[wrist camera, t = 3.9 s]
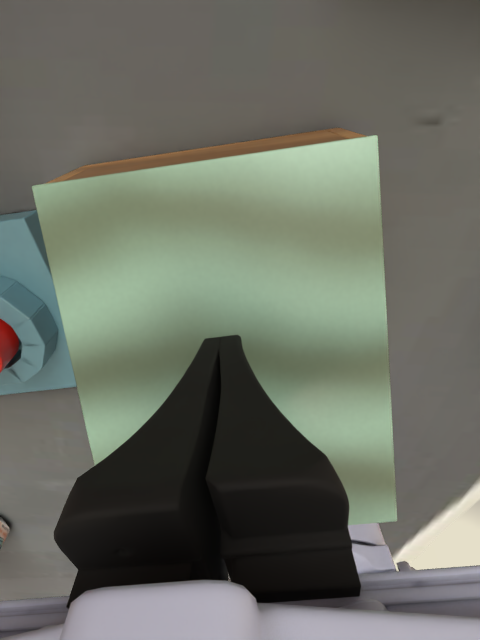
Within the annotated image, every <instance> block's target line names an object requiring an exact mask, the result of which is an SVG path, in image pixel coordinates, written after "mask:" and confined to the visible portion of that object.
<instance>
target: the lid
mask: <svg viewBox="0 0 480 640" xmlns="http://www.w3.org/2000/svg"><path fill="white" fill-rule="evenodd" d="M32 191H33V195H34V200H35V204H36V209H37V213H38V218H39V222H40V226H41V231H42V235H43V240H44V244H45V248H46V253H47V257H48V262H49V266H50V271H51V275H52V279H53V284H54V288H55V293H56V297H57V302H58V306H59V310H60V315H61V319H62V324H63V328H64V332H65V337H66V341H67V346H68V350H69V355H70V359H71V363H72V368H73V372H74V377H75V381H76V386H77V390H78V394H79V399H80V403H81V408H82V412H83V417H84V421H85V425H86V430H87V434H88V439H89V443H90V447H91V452H92V456H93V461H94V465H97V464H98V463H99V462H101V461H102V460H103V459H105V458H106V457H107V456H109V455H110V454H111V453H112V452H114V451H115V450H116V449H117V448H118V447H120V446H121V445H122V444H123V443H124V442H126V441H127V440H128V439H129V438H130V437H131V436H132V435H133V434H135V433H136V432H137V431H138V430H139V429H140V428H141V427H142V426H143V425H144V424H145V423H146V422H147V421H148V420H149V419H150V417H151V416H152V415H153V414H154V413H155V412H156V411H157V410H158V409H159V407H160V406H161V405H162V404H163V403H164V401H165V400H166V399H167V398H168V396H169V395H170V394H171V392H172V391H173V390H174V388H175V387H176V385H177V384H178V383H179V381H180V380H181V378H182V377H183V375H184V374H185V372H186V370H187V369H188V367H189V366H190V364H191V362H192V361H193V359H194V357H195V355H196V354H197V352H198V350H199V348H200V346H201V344H202V342H203V341H204V339H205V338H214V337H222V336H231V335H239V336H240V337H241V341H242V347H243V350H244V353H245V356H246V358H247V360H248V363H249V365H250V367H251V369H252V371H253V372H254V374H255V376H256V378H257V379H258V381H259V383H260V384H261V386H262V387H263V389H264V391H265V392H266V393H267V395H268V396H269V398H270V399H271V400H272V402H273V403H274V404H275V405H276V407H277V408H278V409H279V410H280V412H281V413H282V414H283V415H284V416H285V417H286V418H287V419H288V420H289V421H290V422H291V424H292V425H293V426H294V427H295V428H296V429H297V430H298V431H299V432H300V433H301V434H302V435H303V436H304V437H306V438H307V439H308V440H309V441H310V442H311V443H312V444H313V445H315V446H316V447H317V448H318V449H319V450H321V451H322V452H323V453H324V454H325V455H326V456H327V457H328V459H329V461H330V462H331V464H332V466H333V467H334V469H335V471H336V473H337V474H338V476H339V478H340V480H341V482H342V484H343V486H344V489H345V491H346V494H347V496H348V500H349V507H350V508H349V520H348V525H358V524H370V523H382V522H394V521H397V507H396V487H395V468H394V448H393V429H392V409H391V389H390V370H389V350H388V331H387V311H386V292H385V272H384V252H383V233H382V213H381V194H380V174H379V154H378V137H377V135H372V136H365V137H359V138H352V139H345V140H338V141H332V142H325V143H318V144H311V145H304V146H298V147H291V148H284V149H277V150H271V151H264V152H257V153H250V154H243V155H237V156H230V157H223V158H216V159H210V160H203V161H196V162H189V163H182V164H176V165H169V166H162V167H155V168H149V169H142V170H135V171H128V172H121V173H115V174H108V175H101V176H94V177H88V178H81V179H74V180H67V181H60V182H54V183H47V184H40V185H34V186H32Z"/></svg>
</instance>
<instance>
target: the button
mask: <svg viewBox="0 0 480 640" xmlns="http://www.w3.org/2000/svg"><path fill="white" fill-rule="evenodd" d="M18 350H19V339H18V336H17V334H16V333H15V331H14V329H13V328H12V327H11V326H10V325H9V324H7V323H6V322H5V321H3V320H2V319H0V373H1V372H2V371H3V369H4V368H5V367H6V366H7V365H8V363H9V362H10V361H11V360H12V359H13V358H14V356H15V355H16V354H17V352H18Z"/></svg>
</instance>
